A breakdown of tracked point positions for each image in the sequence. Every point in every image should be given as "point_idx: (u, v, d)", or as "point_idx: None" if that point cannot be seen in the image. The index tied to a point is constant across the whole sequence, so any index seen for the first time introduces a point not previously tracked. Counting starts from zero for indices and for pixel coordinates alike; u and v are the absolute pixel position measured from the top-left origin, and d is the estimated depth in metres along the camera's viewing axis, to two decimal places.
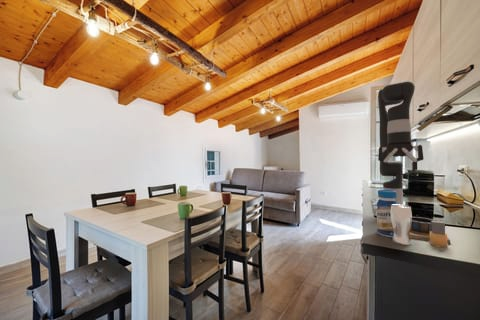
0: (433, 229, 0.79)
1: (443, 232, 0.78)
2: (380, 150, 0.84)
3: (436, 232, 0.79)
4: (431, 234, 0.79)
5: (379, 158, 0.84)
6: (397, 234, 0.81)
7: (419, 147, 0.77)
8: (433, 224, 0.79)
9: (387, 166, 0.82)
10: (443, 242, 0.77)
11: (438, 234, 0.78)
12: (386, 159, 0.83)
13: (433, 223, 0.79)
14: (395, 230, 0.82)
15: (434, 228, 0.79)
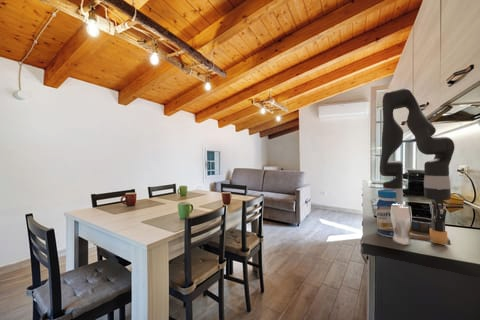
0: (433, 226, 0.79)
1: (443, 229, 0.78)
2: None
3: None
4: (431, 231, 0.79)
5: (444, 219, 0.76)
6: (397, 234, 0.81)
7: None
8: (433, 221, 0.79)
9: (442, 226, 0.78)
10: (443, 239, 0.77)
11: (438, 231, 0.78)
12: None
13: (433, 220, 0.79)
14: (395, 230, 0.82)
15: (434, 226, 0.79)
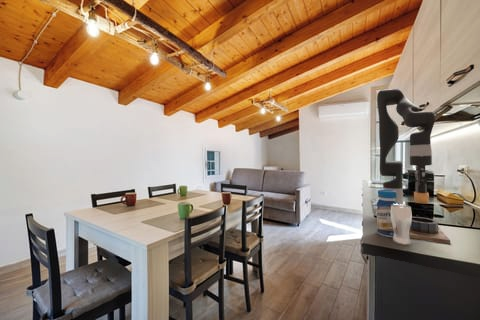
0: (417, 189, 0.92)
1: (425, 191, 0.90)
2: (426, 175, 0.86)
3: None
4: (415, 193, 0.92)
5: None
6: (397, 234, 0.81)
7: None
8: (417, 185, 0.92)
9: (424, 188, 0.90)
10: (425, 199, 0.89)
11: (421, 193, 0.90)
12: None
13: (417, 184, 0.92)
14: (395, 230, 0.82)
15: None
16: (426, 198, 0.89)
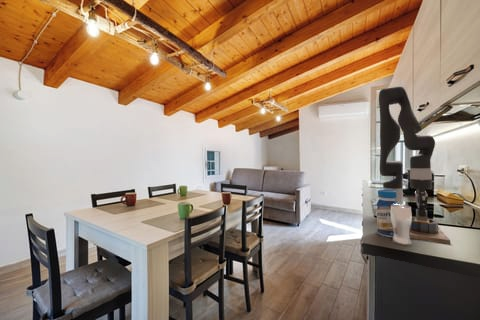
0: (417, 216, 0.92)
1: (426, 219, 0.90)
2: None
3: (420, 219, 0.91)
4: None
5: (426, 205, 0.88)
6: (397, 234, 0.81)
7: None
8: (417, 212, 0.92)
9: None
10: None
11: (421, 220, 0.90)
12: None
13: (417, 211, 0.92)
14: (395, 230, 0.82)
15: (418, 216, 0.91)
16: None
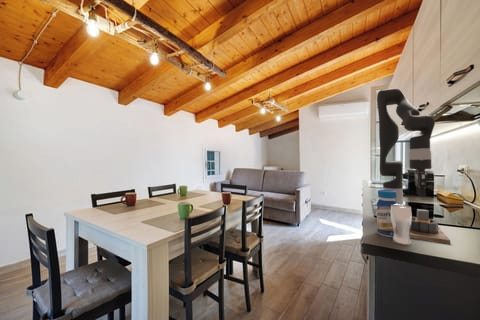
0: (419, 216, 0.91)
1: (427, 219, 0.90)
2: (426, 177, 0.86)
3: (421, 219, 0.91)
4: None
5: (426, 185, 0.87)
6: (397, 234, 0.81)
7: None
8: (419, 212, 0.91)
9: None
10: None
11: (423, 221, 0.90)
12: None
13: (419, 211, 0.91)
14: (395, 230, 0.82)
15: (420, 216, 0.91)
16: None
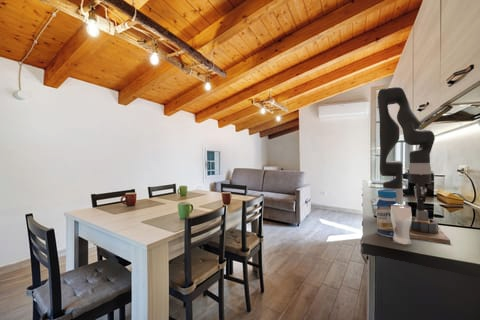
0: (419, 217, 0.91)
1: (426, 219, 0.90)
2: (425, 194, 0.87)
3: (421, 219, 0.91)
4: None
5: (425, 199, 0.89)
6: (397, 234, 0.81)
7: None
8: (419, 212, 0.91)
9: (423, 206, 0.91)
10: None
11: (423, 221, 0.90)
12: None
13: (419, 211, 0.91)
14: (395, 230, 0.82)
15: (420, 216, 0.91)
16: None
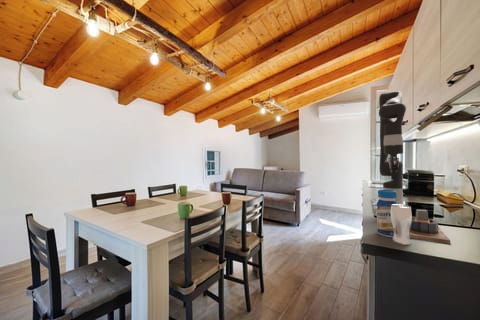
0: (418, 217, 0.91)
1: (426, 219, 0.90)
2: (397, 163, 0.93)
3: (421, 219, 0.91)
4: None
5: (397, 168, 0.95)
6: (397, 234, 0.81)
7: None
8: (418, 212, 0.91)
9: (396, 175, 0.97)
10: None
11: (423, 221, 0.90)
12: None
13: (418, 211, 0.91)
14: (395, 230, 0.82)
15: (420, 216, 0.91)
16: None
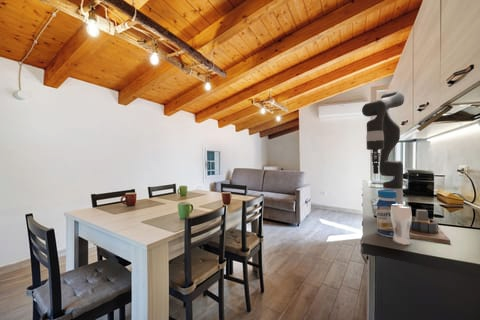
0: (418, 217, 0.91)
1: (426, 219, 0.90)
2: (378, 158, 0.98)
3: (421, 219, 0.91)
4: None
5: (378, 163, 1.00)
6: (397, 234, 0.81)
7: None
8: (418, 212, 0.91)
9: None
10: None
11: (423, 221, 0.90)
12: None
13: (418, 211, 0.91)
14: (395, 230, 0.82)
15: (420, 216, 0.91)
16: None
